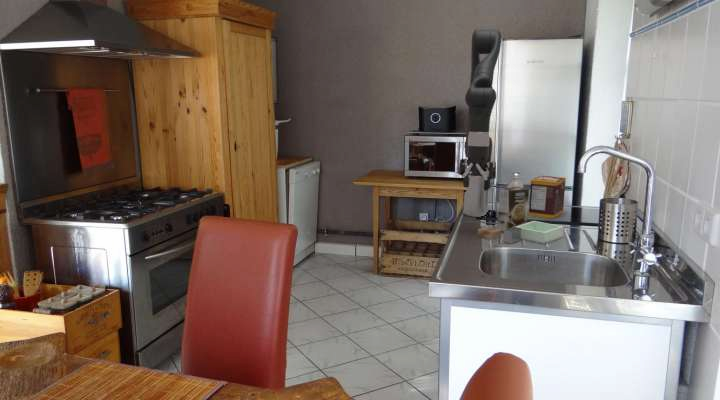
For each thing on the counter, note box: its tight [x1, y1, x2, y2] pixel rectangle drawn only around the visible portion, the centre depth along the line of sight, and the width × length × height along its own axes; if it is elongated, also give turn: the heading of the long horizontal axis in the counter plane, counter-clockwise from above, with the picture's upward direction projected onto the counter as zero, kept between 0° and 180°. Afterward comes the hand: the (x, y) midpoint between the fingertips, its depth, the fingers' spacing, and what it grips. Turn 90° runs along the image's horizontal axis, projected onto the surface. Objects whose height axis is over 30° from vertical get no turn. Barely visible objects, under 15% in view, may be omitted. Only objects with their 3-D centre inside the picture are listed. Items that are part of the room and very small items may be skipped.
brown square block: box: [477, 226, 503, 241], centre depth 191 cm, size 6×6×3 cm
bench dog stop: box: [502, 227, 521, 245], centre depth 185 cm, size 3×6×4 cm, turn 134°
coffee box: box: [496, 187, 530, 233], centre depth 199 cm, size 9×6×16 cm
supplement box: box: [528, 175, 567, 220], centre depth 227 cm, size 10×15×16 cm
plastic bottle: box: [506, 172, 525, 188], centre depth 211 cm, size 6×7×20 cm
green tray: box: [516, 220, 564, 245], centre depth 191 cm, size 12×14×4 cm
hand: (476, 188), depth 194 cm, fingers open, 8 cm apart
